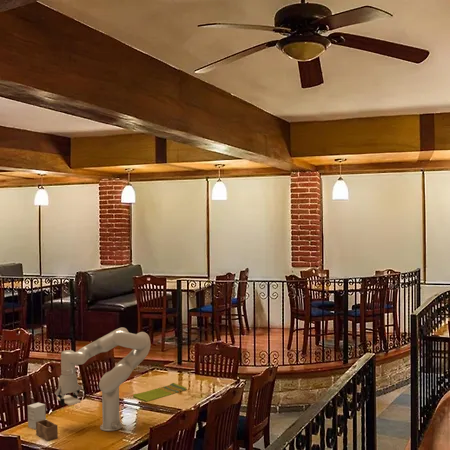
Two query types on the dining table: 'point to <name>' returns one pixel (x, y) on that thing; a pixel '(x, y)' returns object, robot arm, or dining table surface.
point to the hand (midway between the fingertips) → (68, 403)
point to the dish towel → (159, 392)
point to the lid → (70, 400)
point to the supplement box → (36, 414)
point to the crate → (46, 430)
